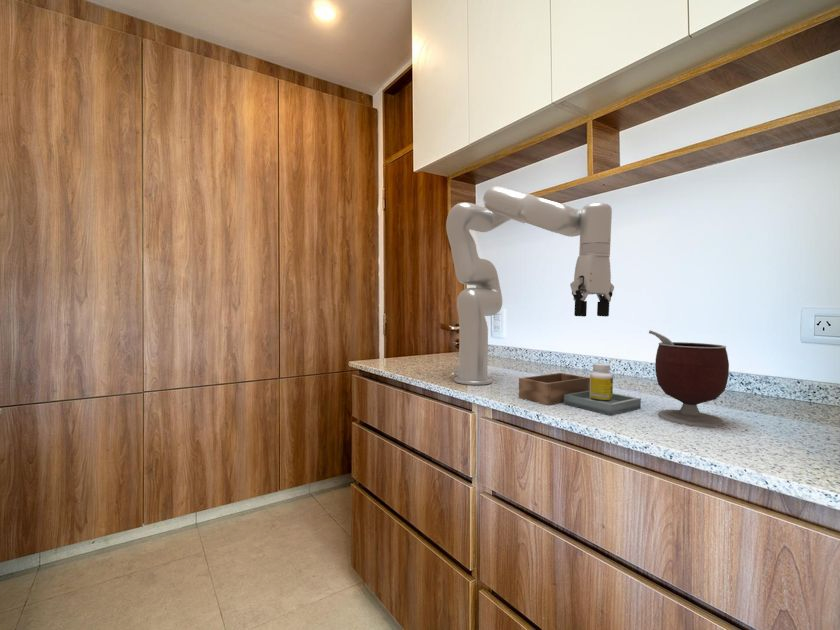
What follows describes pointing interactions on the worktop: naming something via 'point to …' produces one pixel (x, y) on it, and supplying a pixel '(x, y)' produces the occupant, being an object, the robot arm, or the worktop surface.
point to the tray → (616, 407)
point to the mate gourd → (691, 378)
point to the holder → (551, 387)
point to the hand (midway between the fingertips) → (591, 316)
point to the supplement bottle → (601, 383)
